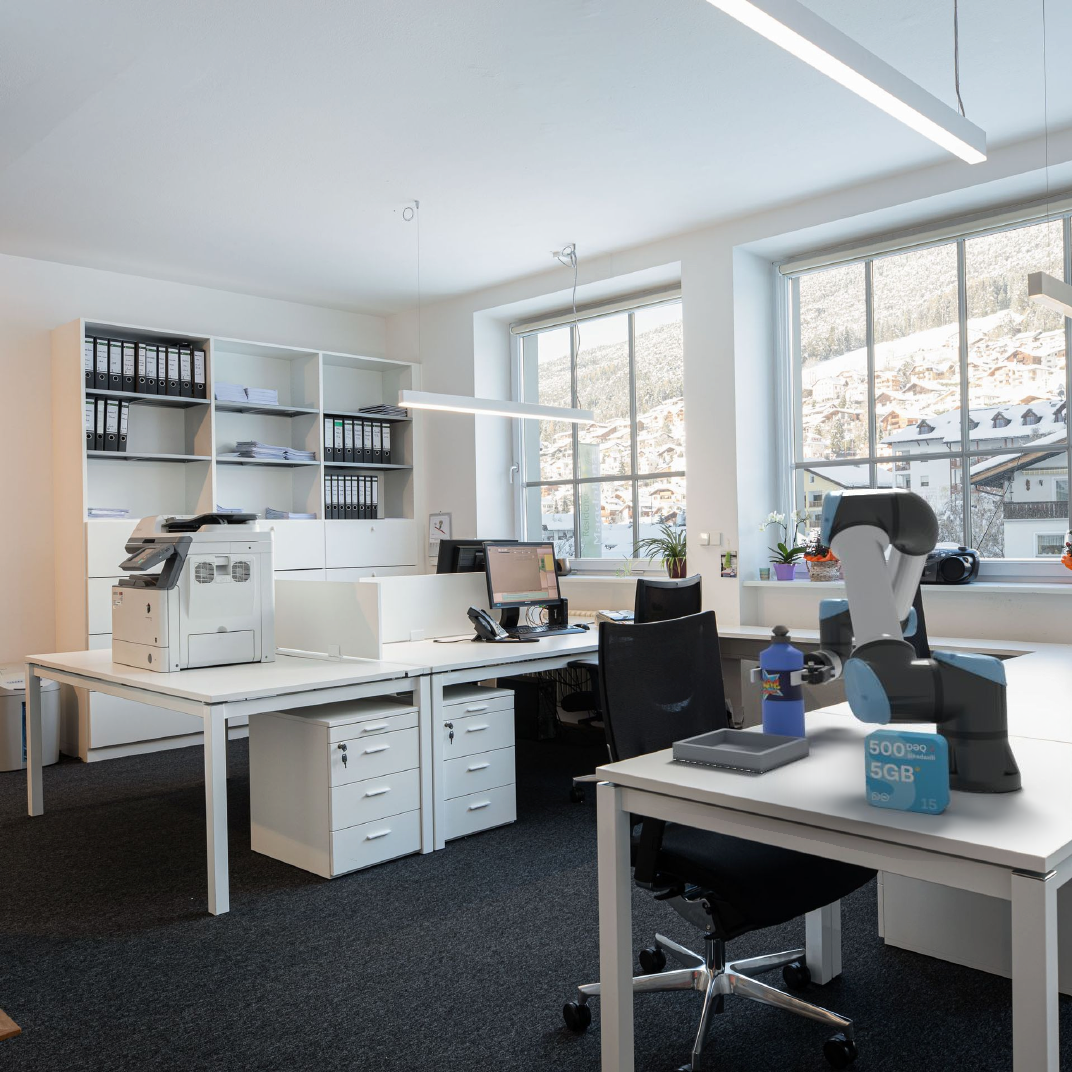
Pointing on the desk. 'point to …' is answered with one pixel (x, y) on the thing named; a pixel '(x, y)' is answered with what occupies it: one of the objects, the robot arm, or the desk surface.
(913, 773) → the data package
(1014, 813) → the desk surface
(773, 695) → the water bottle
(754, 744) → the tray
